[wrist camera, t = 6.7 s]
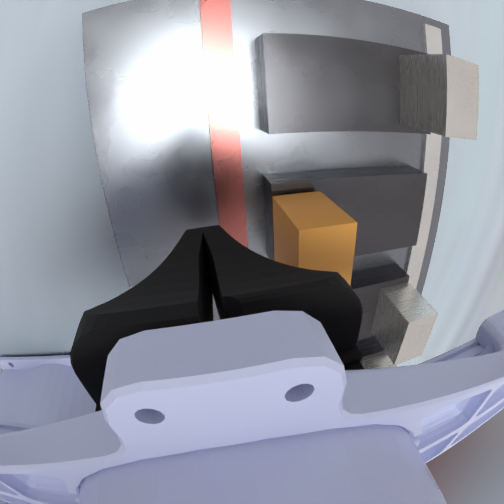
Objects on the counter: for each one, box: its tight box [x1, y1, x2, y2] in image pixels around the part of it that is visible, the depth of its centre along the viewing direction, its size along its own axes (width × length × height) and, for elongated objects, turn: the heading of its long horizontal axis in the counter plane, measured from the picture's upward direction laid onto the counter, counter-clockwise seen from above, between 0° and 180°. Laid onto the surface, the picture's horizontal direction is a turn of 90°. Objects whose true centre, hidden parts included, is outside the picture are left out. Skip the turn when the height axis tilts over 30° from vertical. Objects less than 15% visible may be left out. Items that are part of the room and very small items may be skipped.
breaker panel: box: [82, 0, 479, 369], centre depth 14 cm, size 18×25×6 cm
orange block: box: [272, 191, 357, 285], centre depth 12 cm, size 2×3×3 cm, turn 3°
